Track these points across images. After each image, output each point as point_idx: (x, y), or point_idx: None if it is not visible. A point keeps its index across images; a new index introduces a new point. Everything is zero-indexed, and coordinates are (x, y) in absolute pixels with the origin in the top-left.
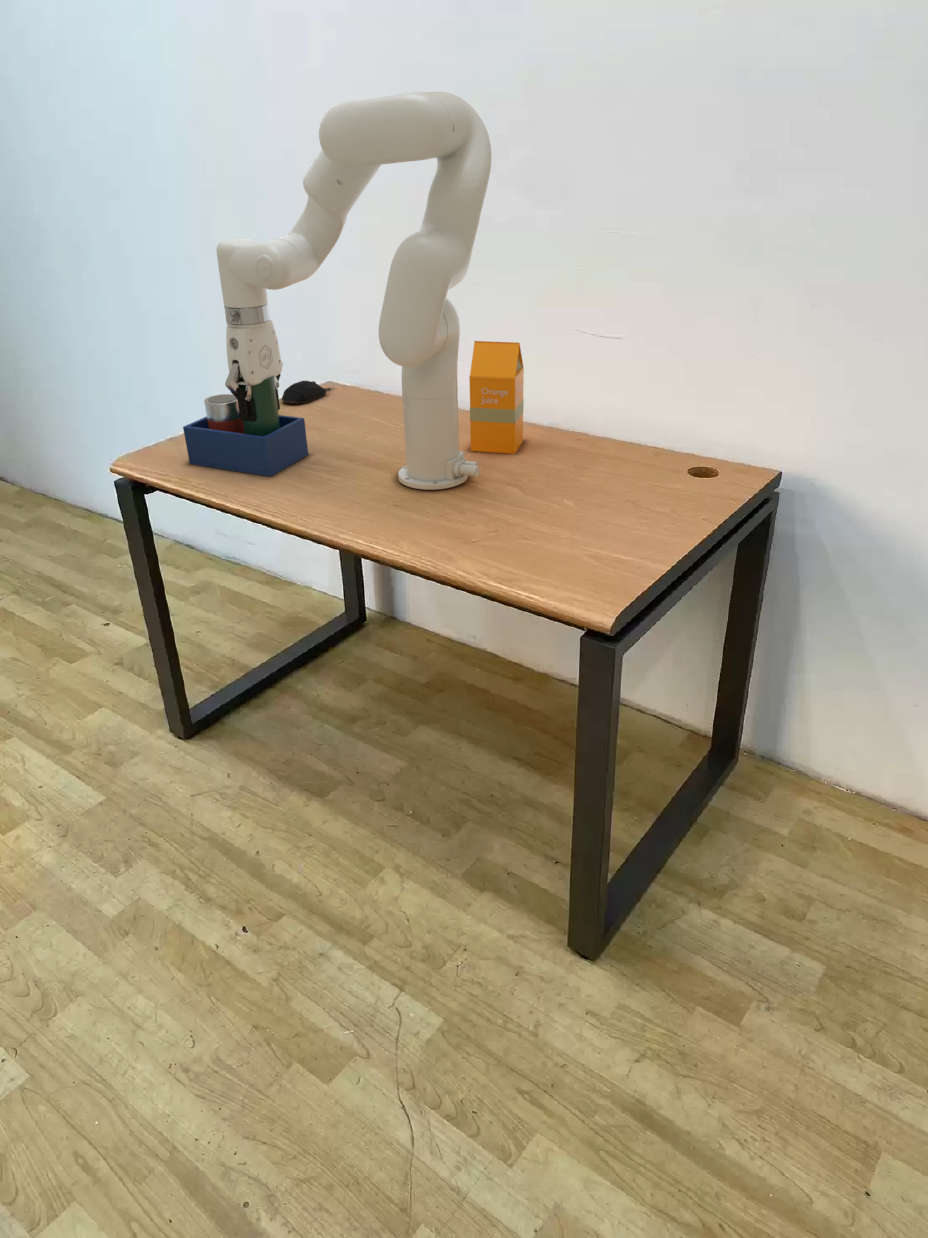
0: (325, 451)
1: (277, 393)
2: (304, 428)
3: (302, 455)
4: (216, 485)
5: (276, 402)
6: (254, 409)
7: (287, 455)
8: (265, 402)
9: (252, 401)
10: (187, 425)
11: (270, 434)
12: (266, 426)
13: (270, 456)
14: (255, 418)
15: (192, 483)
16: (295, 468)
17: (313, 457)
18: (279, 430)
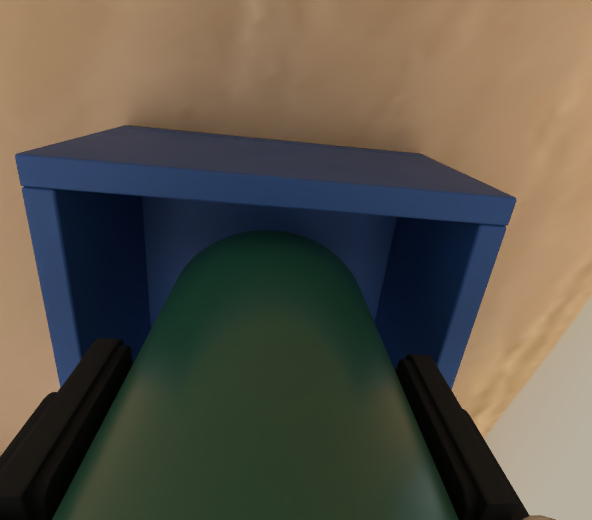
0: (40, 62)
1: (31, 446)
2: (67, 144)
3: (170, 131)
4: (522, 295)
5: (201, 348)
6: (449, 416)
7: (289, 147)
8: (377, 399)
9: (505, 489)
10: None
11: (440, 201)
12: (349, 285)
13: (434, 168)
14: (421, 362)
15: (508, 368)
16: (303, 95)
17: (143, 82)
18: (347, 186)
